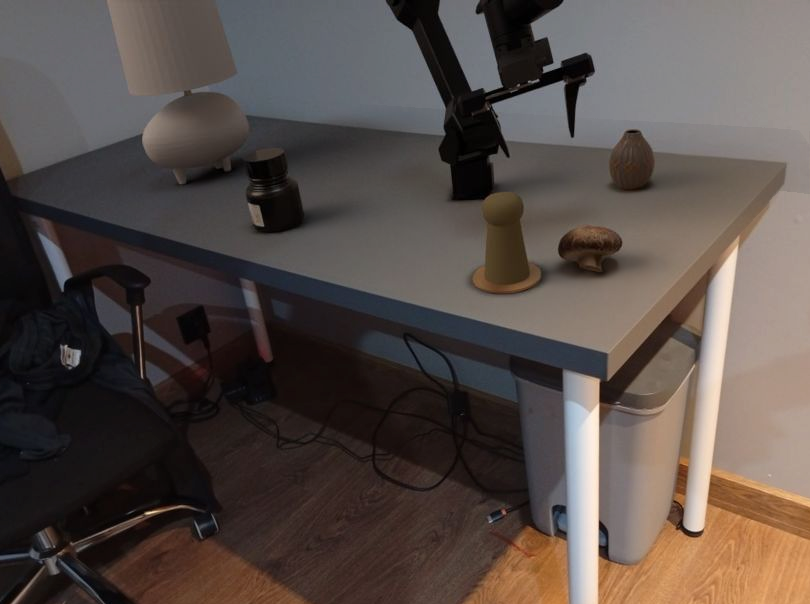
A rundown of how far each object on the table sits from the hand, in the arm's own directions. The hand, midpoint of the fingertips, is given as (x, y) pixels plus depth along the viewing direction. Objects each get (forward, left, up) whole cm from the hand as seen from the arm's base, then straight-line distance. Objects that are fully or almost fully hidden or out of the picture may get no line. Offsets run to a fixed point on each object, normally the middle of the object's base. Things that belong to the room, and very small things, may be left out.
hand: (540, 147), depth 104 cm
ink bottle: (-45, +5, -12) cm, 47 cm away
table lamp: (-73, +34, -12) cm, 81 cm away
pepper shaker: (-4, -17, -12) cm, 21 cm away
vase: (+13, +15, -12) cm, 23 cm away
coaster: (-4, -17, -12) cm, 21 cm away
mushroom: (+7, -14, -12) cm, 20 cm away
